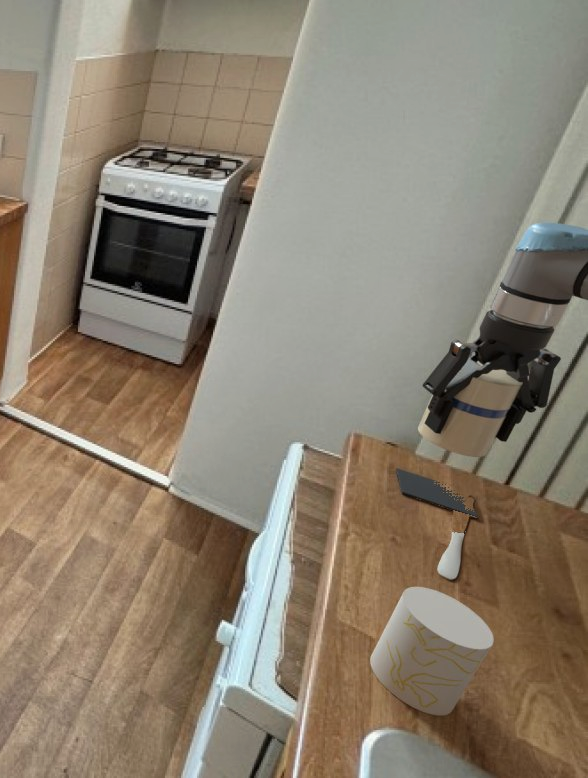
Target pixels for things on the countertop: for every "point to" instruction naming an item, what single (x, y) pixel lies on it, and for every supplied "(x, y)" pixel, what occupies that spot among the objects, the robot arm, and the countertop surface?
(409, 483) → the mat
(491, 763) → the countertop surface
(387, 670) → the cup
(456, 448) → the blue-striped cream cylinder
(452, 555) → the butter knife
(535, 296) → the robot arm
